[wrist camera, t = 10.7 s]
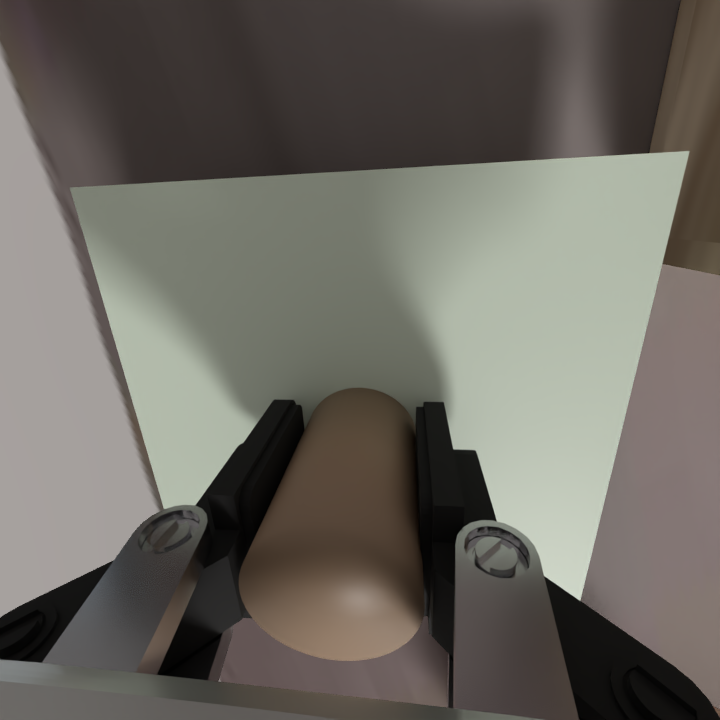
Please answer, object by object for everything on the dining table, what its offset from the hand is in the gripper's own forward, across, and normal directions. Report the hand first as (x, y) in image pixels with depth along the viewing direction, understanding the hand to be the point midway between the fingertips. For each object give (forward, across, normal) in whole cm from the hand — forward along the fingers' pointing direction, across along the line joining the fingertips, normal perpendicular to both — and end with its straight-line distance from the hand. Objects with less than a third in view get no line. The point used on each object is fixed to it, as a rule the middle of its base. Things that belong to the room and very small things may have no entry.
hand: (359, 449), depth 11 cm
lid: (+2, 0, 0) cm, 2 cm away
